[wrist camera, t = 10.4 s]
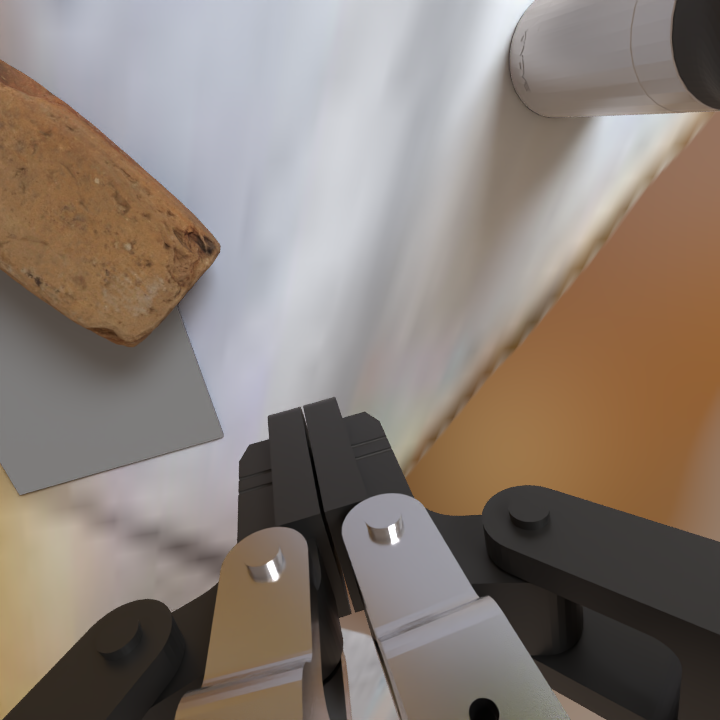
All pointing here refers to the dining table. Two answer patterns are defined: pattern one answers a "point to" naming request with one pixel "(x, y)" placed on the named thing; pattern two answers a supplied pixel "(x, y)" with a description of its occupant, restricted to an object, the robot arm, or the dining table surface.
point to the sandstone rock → (89, 220)
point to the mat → (91, 394)
